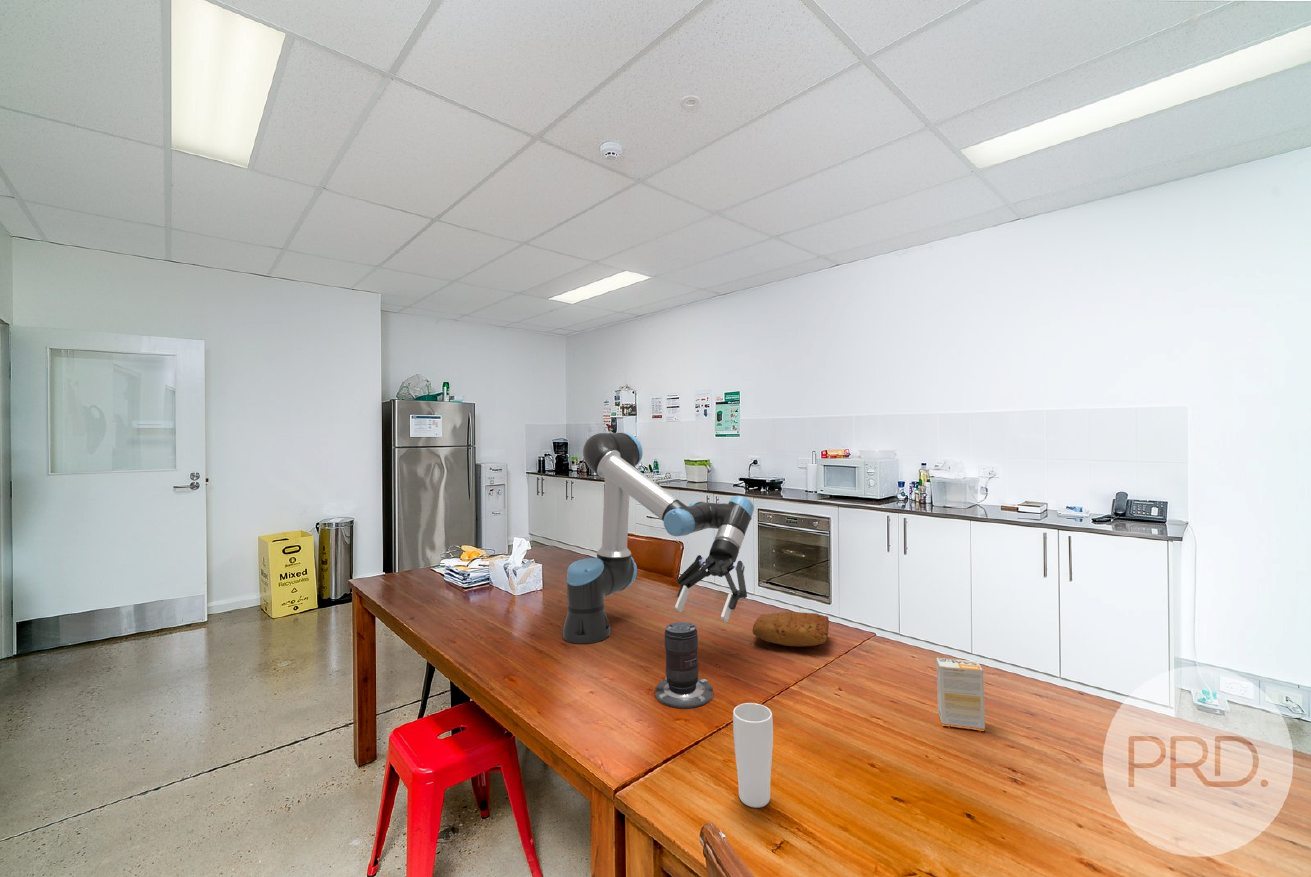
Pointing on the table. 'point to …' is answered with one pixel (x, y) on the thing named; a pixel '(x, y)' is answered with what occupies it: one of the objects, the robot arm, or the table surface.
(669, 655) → the camera lens
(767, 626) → the bread loaf
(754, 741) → the drinking glass
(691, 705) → the mount plate
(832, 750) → the table surface
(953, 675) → the supplement box
